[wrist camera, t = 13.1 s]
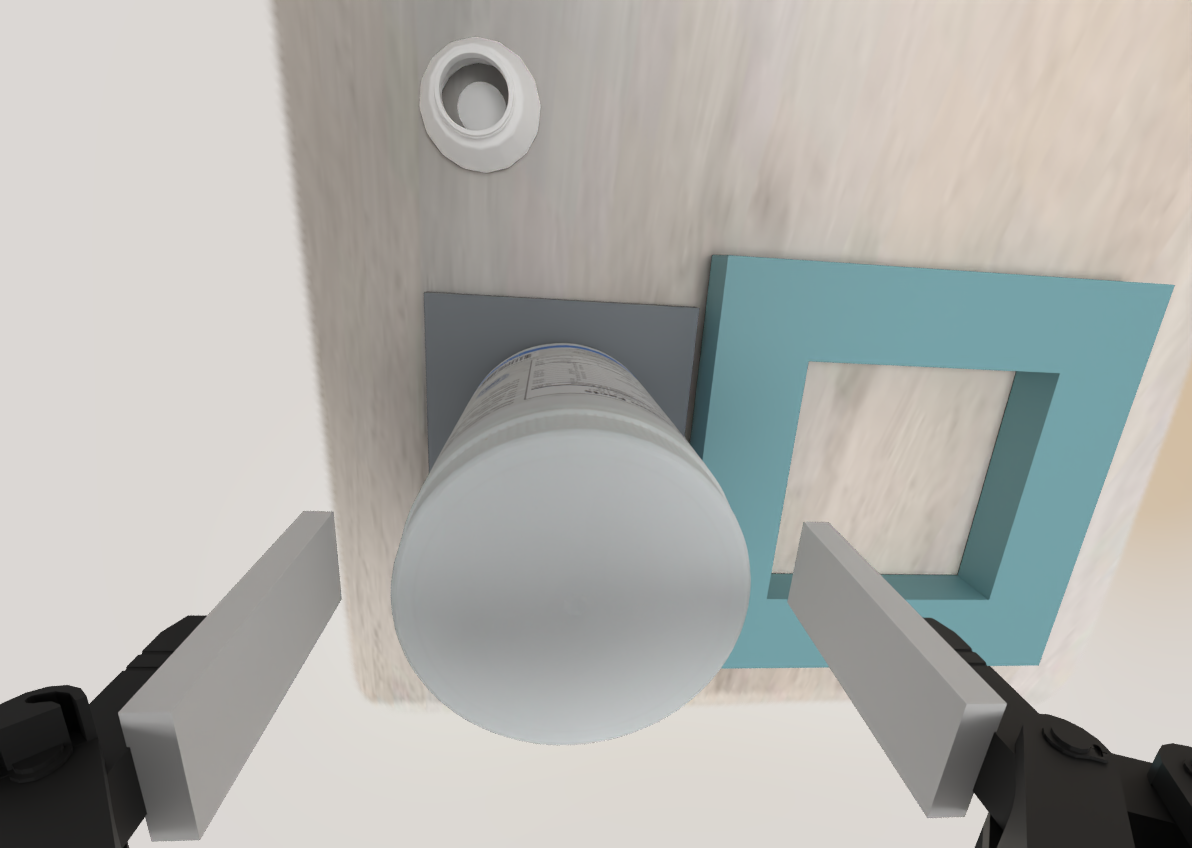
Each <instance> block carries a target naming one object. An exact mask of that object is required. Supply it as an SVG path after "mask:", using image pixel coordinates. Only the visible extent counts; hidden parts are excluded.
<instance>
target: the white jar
mask: <svg viewBox="0 0 1192 848" xmlns="http://www.w3.org/2000/svg"><path fill="white" fill-rule="evenodd" d="M475 63H482V64H486V65H491V66H495V67H496V68H497V69H498V70H499V71H500V72H501V74H502V75H503V77H504V78H505V80H506V83H507V86H508V92H509V98H508V105H507V108H506V103H505V100H504V98H503V96H502V94H501V93H500V91H499V90H498V89H497V88H496V87H494V86H493V85H491V84H489V83H486V82H474V83H471V84H469V85H468V86H466V87H465V88H464V89H463V91H462V92H461V94H460V96H459V99H458V106H457V108H458V114H459V118H460V120H461V122H462V123H463V125H464V126H465V127H466V128H467V129H466V128H463V127H461V126H459V125H458V124H456V123H455V122H454V121H453V120H452V119H451V118H450V117H449V116H448V114H447V112H446V110H445V108H444V105H443V101H442V91H443V89H444V87H445V85H446V83H447V81H448V79H449V77H450V76H451V75H452V74H454V73H455V72H456V71H457V70H459V69H460V68H461V67H462V66H467V65H471V64H475ZM419 108H420V111H421V115H422V118H423V122H424V125H425V129H426V132H427V134H428V135H429V137H430V138H431V139H432V141H433V142H434V143H435V145H436V146H437V148H438V149H439V150H440V152H441V153H442V154H443V155H444V156H446V157H447V158H449V159H450V160H452V161H453V162H455V163H456V164H458V165H459V166H461V167H462V168H464V169H469V170H474V171H479V172H484V173H489V172H493V171H497V170H501V169H506V168H509V167H510V166H511V165H513V164H514V163H515V162H516V161H518V160H519V159H520V158H522V157H523V156H524V155H525V154H526V153H527V152H528V150H529V148H530V146H531V144H532V142H533V141H534V139H535V137H536V135H537V133H538V126H539V118H540V111H541V105H540V100H539V96H538V92H537V87H536V83H535V79H534V78H533V76H532V75H531V73H530V71H529V70H528V68H527V67H526V65H525V64H524V62H523V61H522V59H521V57H519V56H518V55H517V54H515V53H514V52H513V51H511V50H510V49H508V48H507V47H506V46H504V45H503V44H502V43H500V42H498V41H494V40H489V39H485V38H480V37H476V36H474V37H470V38H465V39H461V40H457V41H452V42H450V43H449V44H448V45H447V46H446V47H444V48H443V49H442V50H441V51H439V52H438V53H437V54H436V55H435V56H433V57H432V59H431V61H430V63H429V65H428V67H427V69H426V71H425V73H424V75H423V77H422V79H421V88H420V103H419Z"/></svg>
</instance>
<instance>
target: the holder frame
mask: <svg viewBox="0 0 1192 848" xmlns="http://www.w3.org/2000/svg"><path fill="white" fill-rule="evenodd" d="M1174 286H1175V285H1167V284H1152V283H1137V282H1122V281H1107V280H1092V279H1077V278H1062V277H1047V276H1032V275H1017V274H1002V273H987V272H972V271H957V270H942V269H927V268H912V267H898V266H883V265H868V264H853V263H838V262H823V261H808V260H793V259H778V258H763V257H748V256H733V255H712V261H711V270H710V278H709V287H708V295H707V303H706V312H705V320H704V329H703V337H702V346H701V354H700V363H699V371H698V380H697V388H696V396H695V405H694V413H693V422H692V430H691V439H690V445H691V446H692V448H693V449H694V450H695V452H696V453H697V454H698V456H699V457H700V458H701V459H702V461H703V462H704V463H705V465H706V466H707V467H708V469H709V470H710V472H711V473H712V474H713V476H714V477H715V479H716V480H717V482H718V483H719V485H720V486H721V488H722V490H723V492H724V494H725V496H726V498H727V501H728V503H729V505H730V507H731V509H732V511H733V513H734V514H735V517H736V519H737V521H738V523H739V526H740V528H741V531H742V533H743V536H744V539H745V542H746V546H747V550H748V556H749V563H750V575H751V587H750V597H749V605H748V609H747V613H746V617H745V621H744V624H743V627H742V630H741V633H740V635H739V637H738V640H737V642H736V644H735V646H734V648H733V650H732V652H731V653H730V655H729V657H728V659H727V660H726V662H725V663H724V664H723V666H722V667H721V668H816V667H829V666H828V664H827V663H826V661H825V660H824V658H823V657H822V655H821V654H820V652H819V650H818V649H817V647H816V646H815V644H814V643H813V641H812V640H811V638H810V637H809V635H808V634H807V632H806V630H805V629H804V627H803V626H802V624H801V623H800V621H799V620H798V618H797V617H796V615H795V614H794V612H793V610H792V609H791V607H790V606H789V604H788V603H787V601H788V596H789V591H790V586H791V582H792V577H793V574H771V572H772V566H773V560H774V555H775V549H776V543H777V538H778V532H779V526H780V521H781V515H782V509H783V504H784V498H785V492H786V487H787V481H788V475H789V470H790V464H791V458H792V453H793V447H794V441H795V436H796V430H797V424H798V419H799V413H800V407H801V402H802V396H803V390H804V385H805V379H806V373H807V368H808V362H809V361H815V362H836V363H857V364H878V365H899V366H919V367H940V368H961V369H982V370H1003V371H1017V372H1016V375H1015V379H1014V382H1013V386H1012V389H1011V393H1010V396H1009V400H1008V403H1007V407H1006V410H1005V413H1004V417H1003V420H1002V424H1001V427H1000V431H999V434H998V438H997V441H996V444H995V448H994V451H993V455H992V458H991V462H990V465H989V469H988V472H987V476H986V479H985V482H984V486H983V489H982V493H981V496H980V500H979V503H978V507H977V510H976V514H975V517H974V520H973V524H972V527H971V531H970V534H969V538H968V541H967V545H966V548H965V552H964V555H963V558H962V562H961V565H960V569H959V572H958V575H881V576H882V577H883V578H884V579H885V580H886V581H887V582H888V583H889V584H890V585H891V586H892V587H893V588H894V589H895V590H896V591H897V592H898V593H899V594H900V595H901V596H902V597H903V598H904V599H905V600H906V601H907V602H908V603H909V604H910V605H911V606H912V607H913V608H914V609H915V610H916V612H917V613H918V614H919V615H920V616H921V617H922V618H933V619H935V620H937V621H938V622H940V623H941V624H943V625H944V626H946V627H948V628H949V629H951V630H952V631H954V632H955V633H956V634H957V635H958V636H959V637H960V638H962V639H963V640H964V641H965V642H966V643H967V644H968V645H969V646H970V647H971V648H972V651H973V652H976V653H977V654H978V655H979V656H980V657H981V658H982V659H983V660H984V661H985V662H986V665H987V666H1020V665H1039V663H1040V660H1041V657H1042V655H1043V652H1044V649H1045V646H1046V643H1047V641H1048V638H1049V635H1050V632H1051V629H1052V627H1053V624H1054V621H1055V618H1056V615H1057V613H1058V610H1059V607H1060V604H1061V602H1062V599H1063V596H1064V593H1065V590H1066V588H1067V585H1068V582H1069V579H1070V576H1071V574H1072V571H1073V568H1074V565H1075V562H1076V560H1077V557H1078V554H1079V551H1080V548H1081V546H1082V543H1083V540H1084V537H1085V534H1086V532H1087V529H1088V526H1089V523H1090V521H1091V518H1092V515H1093V512H1094V509H1095V507H1096V504H1097V501H1098V498H1099V495H1100V493H1101V490H1102V487H1103V484H1104V481H1105V479H1106V476H1107V473H1108V470H1109V467H1110V465H1111V462H1112V459H1113V456H1114V453H1115V451H1116V448H1117V445H1118V442H1119V440H1120V437H1121V434H1122V431H1123V428H1124V426H1125V423H1126V420H1127V417H1128V414H1129V412H1130V409H1131V406H1132V403H1133V400H1134V398H1135V395H1136V392H1137V389H1138V386H1139V384H1140V381H1141V378H1142V375H1143V372H1144V370H1145V367H1146V364H1147V361H1148V359H1149V356H1150V353H1151V350H1152V347H1153V345H1154V342H1155V339H1156V336H1157V333H1158V331H1159V328H1160V325H1161V322H1162V319H1163V317H1164V314H1165V311H1166V308H1167V305H1168V303H1169V300H1170V297H1171V294H1172V291H1173V289H1174Z"/></svg>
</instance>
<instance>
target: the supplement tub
mask: <svg viewBox="0 0 1192 848" xmlns="http://www.w3.org/2000/svg"><path fill="white" fill-rule="evenodd" d="M750 587H751V575H750V563H749V556H748V550H747V546H746V542H745V539H744V536H743V533H742V531H741V528H740V526H739V523H738V521H737V519H736V517H735V514H734V513H733V511H732V509H731V507H730V505H729V503H728V501H727V498H726V496H725V494H724V492H723V490H722V488H721V486H720V485H719V483H718V482H717V480H716V479H715V477H714V476H713V474H712V473H711V472H710V470H709V469H708V467H707V466H706V465H705V463H704V462H703V461H702V459H701V458H700V457H699V456H698V454H697V453H696V452H695V450H694V449H693V448H692V446H691V445H690V444H689V443H688V441H687V440H686V439H685V438H684V436H683V435H682V434H681V433H680V432H679V430H678V429H677V428H676V427H675V425H674V424H673V423H672V422H671V420H670V419H669V418H668V417H667V415H666V414H665V413H664V412H663V410H662V409H661V408H660V407H659V405H658V404H657V403H656V402H655V400H654V399H653V398H652V397H651V396H650V394H649V393H648V392H647V391H646V389H645V388H644V387H643V386H642V385H641V383H640V382H639V381H638V380H637V379H636V377H635V376H634V375H633V374H632V373H631V372H630V371H629V370H628V369H627V368H626V367H625V366H623V365H622V364H621V363H620V362H618V361H617V360H615V359H614V358H612V357H611V356H609V355H607V354H606V353H603V352H601V351H599V350H596V349H593V348H590V347H587V346H583V345H578V344H570V343H553V344H545V345H539V346H535V347H531V348H528V349H525V350H523V351H520V352H518V353H516V354H514V355H512V356H511V357H509V358H507V359H506V360H504V361H503V362H501V363H500V364H499V365H498V366H496V367H495V368H494V369H493V370H492V371H491V372H490V373H489V374H488V375H487V376H486V377H485V378H484V380H483V381H482V382H481V383H480V385H479V386H478V388H477V390H476V391H475V393H474V394H473V396H472V398H471V399H470V401H469V403H468V405H467V406H466V408H465V410H464V412H463V413H462V415H461V417H460V419H459V421H458V422H457V424H456V426H455V428H454V429H453V431H452V433H451V435H450V437H449V438H448V440H447V442H446V444H445V445H444V447H443V449H442V451H441V453H440V454H439V456H438V458H437V460H436V462H435V464H434V466H433V467H432V469H431V471H430V473H429V475H428V477H427V479H426V480H425V482H424V484H423V486H422V488H421V490H420V492H419V494H418V496H417V498H416V500H415V501H414V503H413V505H412V507H411V510H410V512H409V515H408V518H407V520H406V523H405V526H404V530H403V534H402V538H401V542H400V545H399V549H398V552H397V555H396V558H395V562H394V567H393V574H392V580H391V607H392V615H393V620H394V625H395V630H396V633H397V636H398V639H399V642H400V644H401V647H402V649H403V652H404V654H405V656H406V658H407V660H408V662H409V664H410V665H411V667H412V669H413V670H414V672H415V673H416V674H417V676H418V677H419V678H420V680H421V681H422V682H423V683H424V685H425V686H426V687H427V688H428V689H429V690H430V691H431V692H432V693H433V694H434V695H435V696H436V697H437V698H438V699H439V700H440V701H441V702H442V703H443V704H444V705H446V706H447V707H448V708H449V709H451V710H452V711H453V712H455V713H456V714H458V715H459V716H461V717H462V718H464V719H465V720H467V721H469V722H471V723H473V724H475V725H477V726H479V727H482V728H483V729H486V730H488V731H490V732H493V733H495V734H498V735H502V736H505V737H509V738H512V739H516V740H520V741H525V742H530V743H536V744H546V745H578V744H588V743H595V742H600V741H605V740H611V739H614V738H618V737H622V736H625V735H628V734H631V733H633V732H636V731H638V730H641V729H643V728H646V727H648V726H650V725H653V724H655V723H657V722H659V721H660V720H662V719H664V718H666V717H668V716H669V715H671V714H672V713H674V712H675V711H677V710H679V709H680V708H681V707H682V706H684V705H685V704H686V703H688V702H689V701H690V700H692V699H693V698H694V697H695V696H696V695H697V694H698V693H699V692H700V691H701V690H702V689H703V688H704V687H705V686H706V685H707V684H708V683H709V682H710V681H711V680H712V679H713V677H714V676H715V675H716V674H717V673H718V671H719V670H720V669H721V667H722V666H723V664H724V663H725V662H726V660H727V659H728V657H729V655H730V653H731V652H732V650H733V648H734V646H735V644H736V642H737V640H738V637H739V635H740V633H741V630H742V627H743V624H744V621H745V617H746V613H747V609H748V605H749V597H750Z"/></svg>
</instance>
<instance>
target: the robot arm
mask: <svg viewBox="0 0 1192 848" xmlns="http://www.w3.org/2000/svg"><path fill="white" fill-rule="evenodd" d="M341 599H342V598H341V587H340V576H339V566H338V555H337V544H336V534H335V523H334V512H324V511H303V512H302V513H301V514H300V516H299V517H298V518H297V519H296V520H295V521H294V522H293V523H292V524H291V525H290V526H289V528H288V529H287V530H286V531H285V532H284V533H283V534H282V535H281V536H280V537H279V539H277V541H276V542H275V543H274V544H273V545H272V546H271V547H270V548H269V549H268V550H267V551H266V553H265V554H264V555H263V556H262V557H261V558H260V559H259V560H258V561H257V562H256V563H255V565H254V566H253V567H252V568H251V569H250V570H249V571H248V572H247V573H246V574H245V575H244V576H243V578H242V579H241V580H240V581H239V582H238V583H237V584H236V585H235V586H234V587H233V588H232V589H231V591H230V592H229V593H228V594H227V595H226V596H225V597H224V598H223V599H222V600H221V601H220V602H219V604H218V605H217V606H216V607H215V608H214V609H213V610H212V611H211V612H210V613H209V614H208V615H207V616H187V617H185V618H183V619H182V620H180V621H178V622H177V623H175V624H174V625H172V626H170V627H169V628H167V629H166V630H164V631H162V632H161V633H160V634H159V635H158V636H157V637H156V638H155V639H154V640H153V641H152V642H151V643H150V644H149V645H148V646H147V647H146V648H145V649H144V650H143V651H142V654H141V655H138V656H137V657H136V658H135V659H134V660H133V661H132V662H131V663H130V664H129V665H128V666H127V667H126V668H127V669H126V670H125V671H122V672H121V673H120V674H119V675H118V676H117V677H116V678H115V679H114V680H113V681H112V682H111V683H110V684H109V685H108V686H107V687H106V688H105V689H104V690H103V691H102V692H101V693H100V694H99V695H98V696H97V697H96V698H95V699H94V700H93V701H92V702H91V703H90V704H89V703H88V700H87V697H86V695H85V694H84V692H83V691H82V690H81V688H77V687H73V686H69V685H63V686H51V687H45V688H42V689H38V690H35V691H31V692H27V693H24V694H22V695H20V696H18V697H15V698H13V699H11V700H9V701H6V702H4V703H2V704H0V848H129V845H128V842H127V841H128V840H129V838H130V837H131V836H132V834H133V833H134V831H135V830H136V829H137V827H138V826H139V824H140V823H141V822H142V820H143V819H144V817H145V818H146V822H147V826H148V830H149V833H150V837H151V841H182V840H183V841H185V840H200V839H201V837H202V836H203V834H204V832H205V831H206V829H207V827H208V825H209V824H210V822H211V820H212V819H213V817H214V815H215V813H216V812H217V810H218V808H219V807H220V805H221V803H222V801H223V800H224V798H225V797H226V795H227V793H228V791H229V790H230V788H231V786H232V785H233V783H234V781H235V780H236V778H237V776H238V774H239V773H240V771H241V769H242V768H243V766H244V764H245V762H246V761H247V759H248V757H249V756H250V754H251V752H252V750H253V749H254V747H255V746H256V744H257V742H258V740H259V739H260V737H261V735H262V734H263V732H264V730H265V728H266V727H267V725H268V723H269V722H270V720H271V718H272V717H273V715H274V713H275V712H276V710H277V708H278V706H279V704H280V703H281V701H282V700H283V698H284V696H285V695H286V693H287V691H288V689H289V688H290V686H291V684H292V683H293V681H294V679H295V678H296V676H297V674H298V672H299V671H300V669H301V667H302V665H303V664H304V662H305V660H306V659H307V657H308V655H309V654H310V652H311V650H312V649H313V647H314V645H315V643H316V642H317V640H318V638H319V637H320V635H321V633H322V632H323V630H324V628H325V626H326V625H327V623H328V621H329V620H330V618H331V616H332V615H333V613H334V611H335V609H336V608H337V606H338V604H339V603H340V601H341ZM787 603H788V604H789V606H790V607H791V609H792V610H793V612H794V614H795V615H796V617H797V618H798V620H799V621H800V623H801V624H802V626H803V627H804V629H805V630H806V632H807V634H808V635H809V637H810V638H811V640H812V641H813V643H814V644H815V646H816V647H817V649H818V650H819V652H820V654H821V655H822V657H823V658H824V660H825V661H826V663H827V664H828V666H829V667H830V669H831V670H832V672H833V673H834V675H835V677H836V678H837V680H838V681H839V683H840V684H841V686H842V687H843V689H844V690H845V692H846V693H847V695H848V697H849V698H850V700H851V701H852V703H853V704H854V706H855V707H856V709H857V710H858V712H859V713H860V715H861V717H862V718H863V720H864V721H865V722H866V724H867V726H868V727H869V729H870V730H871V732H872V733H873V735H874V737H875V738H876V739H877V741H878V743H879V744H880V746H881V747H882V749H883V750H884V752H885V753H886V755H887V757H888V758H889V760H890V761H891V763H892V764H893V766H894V767H895V769H896V770H897V772H898V773H899V775H900V777H901V778H902V780H903V781H904V783H905V784H906V786H907V787H908V789H909V790H910V792H911V793H912V795H913V797H914V798H915V800H916V801H917V803H918V804H919V806H920V807H921V809H922V810H923V812H924V813H925V815H926V816H927V818H942V817H965V815H966V812H967V810H968V807H969V804H970V802H971V799H972V796H973V794H974V793H975V794H976V796H977V797H978V798H979V800H980V801H981V802H982V804H983V805H984V806H985V808H986V809H987V810H988V812H989V813H988V815H987V818H986V821H985V823H984V826H983V828H982V831H981V833H980V836H979V838H978V841H977V843H976V846H975V848H1192V747H1189V746H1183V745H1178V744H1173V743H1172V744H1166V745H1162V746H1161V748H1160V749H1159V751H1158V753H1157V755H1156V757H1155V759H1154V761H1153V763H1150V762H1146V761H1141V760H1137V759H1133V758H1129V757H1125V756H1121V755H1116V754H1112V753H1111V752H1110V751H1109V750H1108V749H1107V748H1106V747H1105V746H1104V745H1103V744H1102V743H1101V742H1100V741H1099V740H1098V739H1097V738H1095V737H1094V736H1092V735H1091V734H1089V733H1088V732H1087V731H1085V730H1084V729H1083V728H1081V727H1079V726H1076V725H1075V724H1072V723H1071V722H1069V721H1066V720H1064V719H1061V718H1058V717H1055V716H1052V715H1048V714H1039V713H1037V711H1036V710H1035V709H1034V708H1033V707H1032V706H1030V705H1029V704H1028V703H1027V702H1026V701H1025V700H1024V699H1023V698H1022V697H1021V696H1020V695H1019V694H1018V693H1017V692H1016V691H1015V690H1014V689H1013V688H1012V687H1011V686H1010V685H1009V684H1008V683H1007V682H1006V681H1005V680H1004V679H1003V678H1002V677H1001V676H1000V675H999V674H998V673H997V672H995V671H994V670H993V669H992V668H991V667H990V666H987V665H986V662H985V661H984V660H983V659H982V658H981V657H980V656H979V655H978V654H977V653H976V652H973V651H972V648H971V647H970V646H969V645H968V644H967V643H966V642H965V641H964V640H963V639H962V638H960V637H959V636H958V635H957V634H956V633H955V632H954V631H952V630H951V629H949V628H948V627H946V626H944V625H943V624H941V623H940V622H938V621H937V620H935V619H933V618H922V617H921V616H920V615H919V614H918V613H917V612H916V610H915V609H914V608H913V607H912V606H911V605H910V604H909V603H908V602H907V601H906V600H905V599H904V598H903V597H902V596H901V595H900V594H899V593H898V592H897V591H896V590H895V589H894V588H893V587H892V586H891V585H890V584H889V583H888V582H887V581H886V580H885V579H884V578H883V577H882V576H881V575H880V574H879V573H878V572H877V571H876V570H875V569H874V568H873V567H872V566H871V565H870V564H869V563H868V562H867V561H866V560H865V559H864V558H863V557H862V556H861V555H860V554H859V552H858V551H857V550H856V549H855V548H854V547H853V546H852V545H851V544H850V543H849V542H848V541H847V540H846V539H845V538H844V537H843V536H842V535H841V534H840V533H839V532H838V531H837V530H836V529H835V528H834V527H833V526H832V525H831V524H830V523H829V522H803V527H802V532H801V537H800V542H799V547H798V552H797V557H796V562H795V567H794V572H793V577H792V582H791V586H790V591H789V596H788V601H787Z"/></svg>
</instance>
